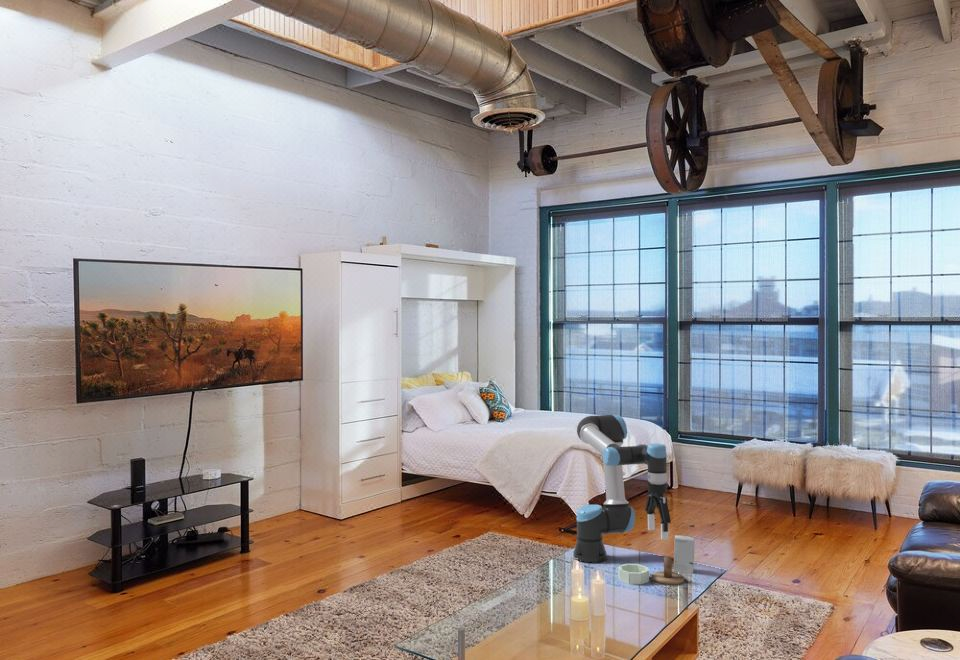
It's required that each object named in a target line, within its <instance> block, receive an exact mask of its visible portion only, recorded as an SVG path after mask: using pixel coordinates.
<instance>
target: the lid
mask: <svg viewBox="0 0 960 660" xmlns="http://www.w3.org/2000/svg"><path fill="white" fill-rule="evenodd" d="M672 560H673V558H672V557H671V556H668V555H667V556H666V555H665V556H663V571H656V572H653V573H651V574H652V578H651V581H652V580H653V581H654V582H656V583H659V584H664V585H663V586H680V585H679V584H682V583H683V582H684V581H685V577H684V575H682V574H681V573H679V572H674V571H673V569H672V567H673V566H672V565H673V561H672ZM653 581H652V582H653Z"/></svg>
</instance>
